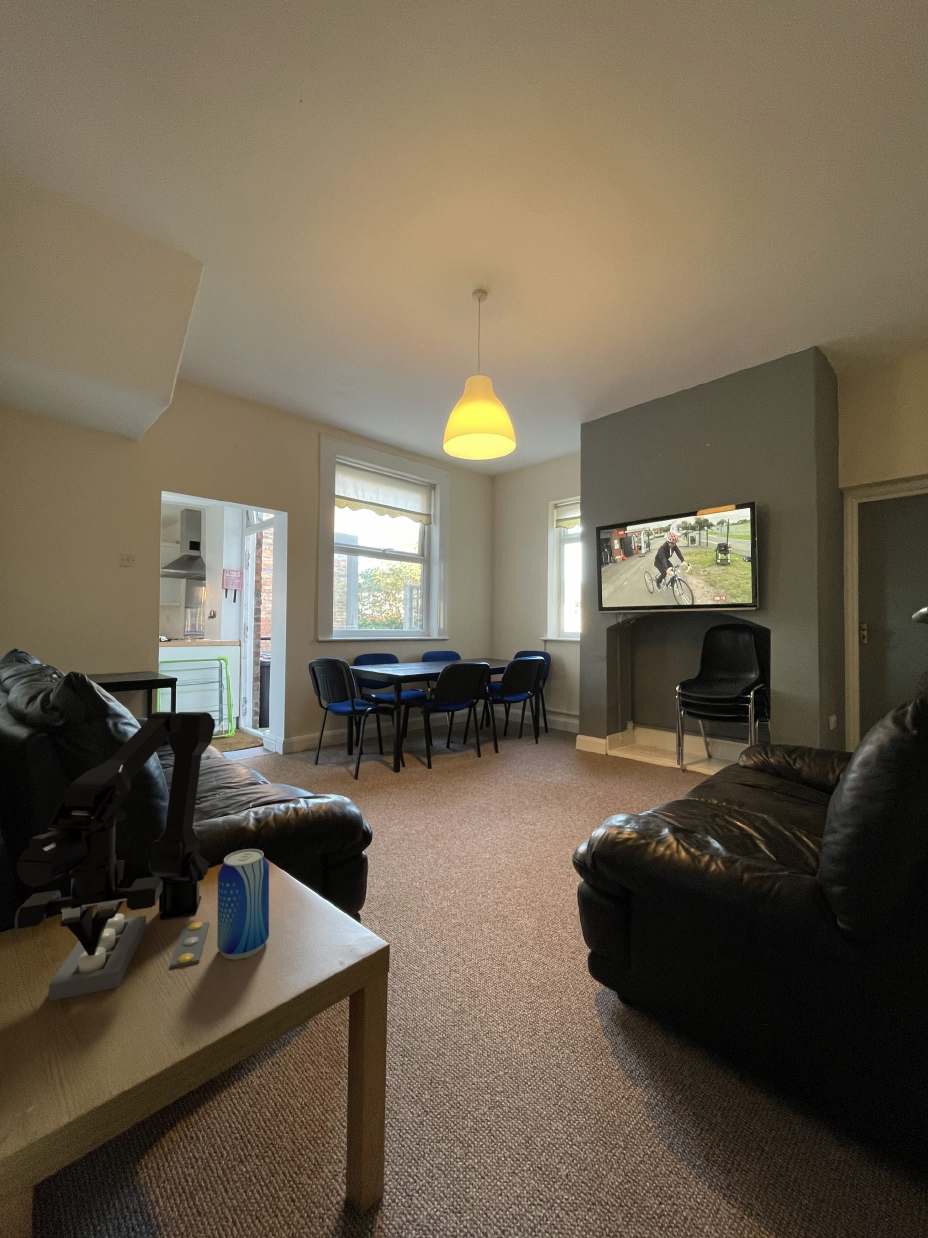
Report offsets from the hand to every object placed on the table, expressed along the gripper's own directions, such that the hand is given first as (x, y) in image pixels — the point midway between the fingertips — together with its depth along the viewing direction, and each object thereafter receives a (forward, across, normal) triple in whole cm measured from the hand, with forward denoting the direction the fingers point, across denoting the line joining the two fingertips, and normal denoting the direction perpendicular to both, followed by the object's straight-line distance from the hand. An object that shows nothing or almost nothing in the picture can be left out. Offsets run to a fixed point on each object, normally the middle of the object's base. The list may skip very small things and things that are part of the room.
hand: (92, 954), depth 83 cm
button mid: (+2, 0, -5) cm, 5 cm away
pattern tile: (+4, -14, -5) cm, 15 cm away
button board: (+4, 0, -5) cm, 6 cm away
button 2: (+2, 0, -10) cm, 10 cm away
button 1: (+2, 0, 0) cm, 2 cm away
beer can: (+4, -22, -1) cm, 23 cm away
